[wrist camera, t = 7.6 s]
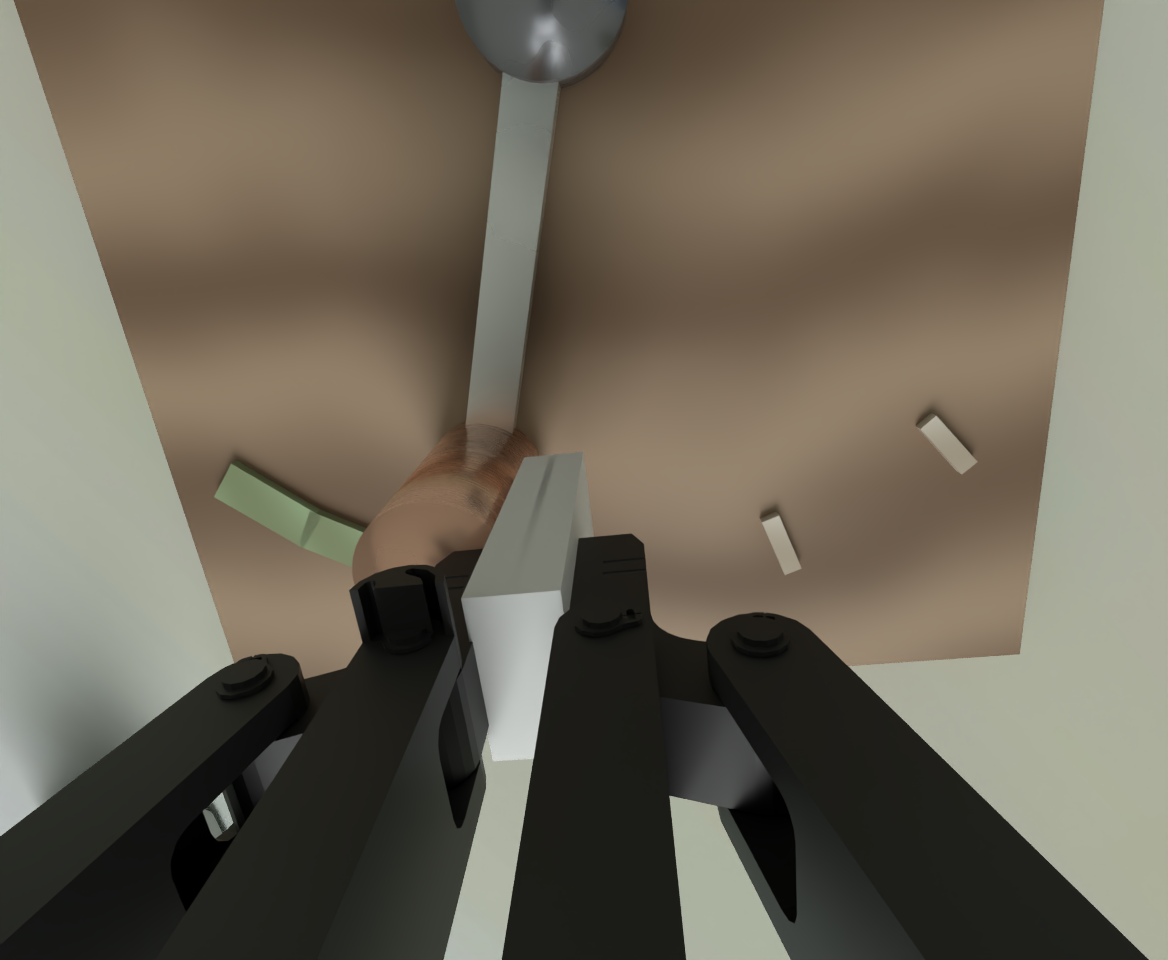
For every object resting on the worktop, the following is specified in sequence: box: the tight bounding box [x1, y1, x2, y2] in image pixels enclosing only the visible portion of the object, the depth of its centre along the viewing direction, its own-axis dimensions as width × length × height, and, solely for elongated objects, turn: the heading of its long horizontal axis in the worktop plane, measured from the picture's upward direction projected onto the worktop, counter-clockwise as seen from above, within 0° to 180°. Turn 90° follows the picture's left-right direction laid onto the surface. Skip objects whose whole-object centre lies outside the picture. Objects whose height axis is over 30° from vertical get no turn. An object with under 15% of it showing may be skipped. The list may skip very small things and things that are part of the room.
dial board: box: [14, 0, 1104, 679], centre depth 17 cm, size 24×24×2 cm
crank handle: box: [352, 0, 628, 585], centre depth 13 cm, size 15×4×6 cm, turn 171°
